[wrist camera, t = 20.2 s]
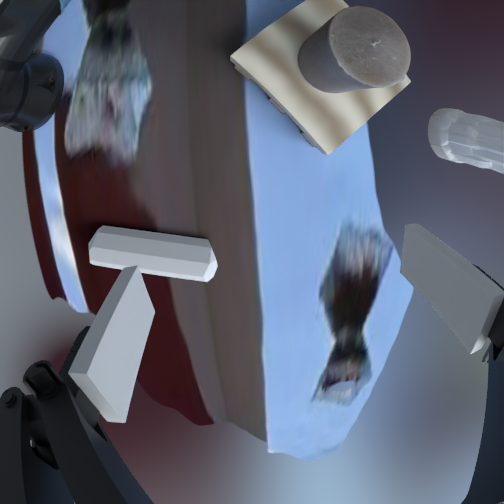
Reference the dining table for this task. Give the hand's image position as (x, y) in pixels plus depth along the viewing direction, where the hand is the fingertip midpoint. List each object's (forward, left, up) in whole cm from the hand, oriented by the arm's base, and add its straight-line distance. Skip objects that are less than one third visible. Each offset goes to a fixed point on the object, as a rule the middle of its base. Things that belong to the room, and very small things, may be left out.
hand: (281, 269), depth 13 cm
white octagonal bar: (-22, +1, -35) cm, 42 cm away
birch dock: (+20, +3, -35) cm, 40 cm away
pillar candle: (+20, +3, -29) cm, 35 cm away
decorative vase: (+35, -22, -35) cm, 54 cm away
